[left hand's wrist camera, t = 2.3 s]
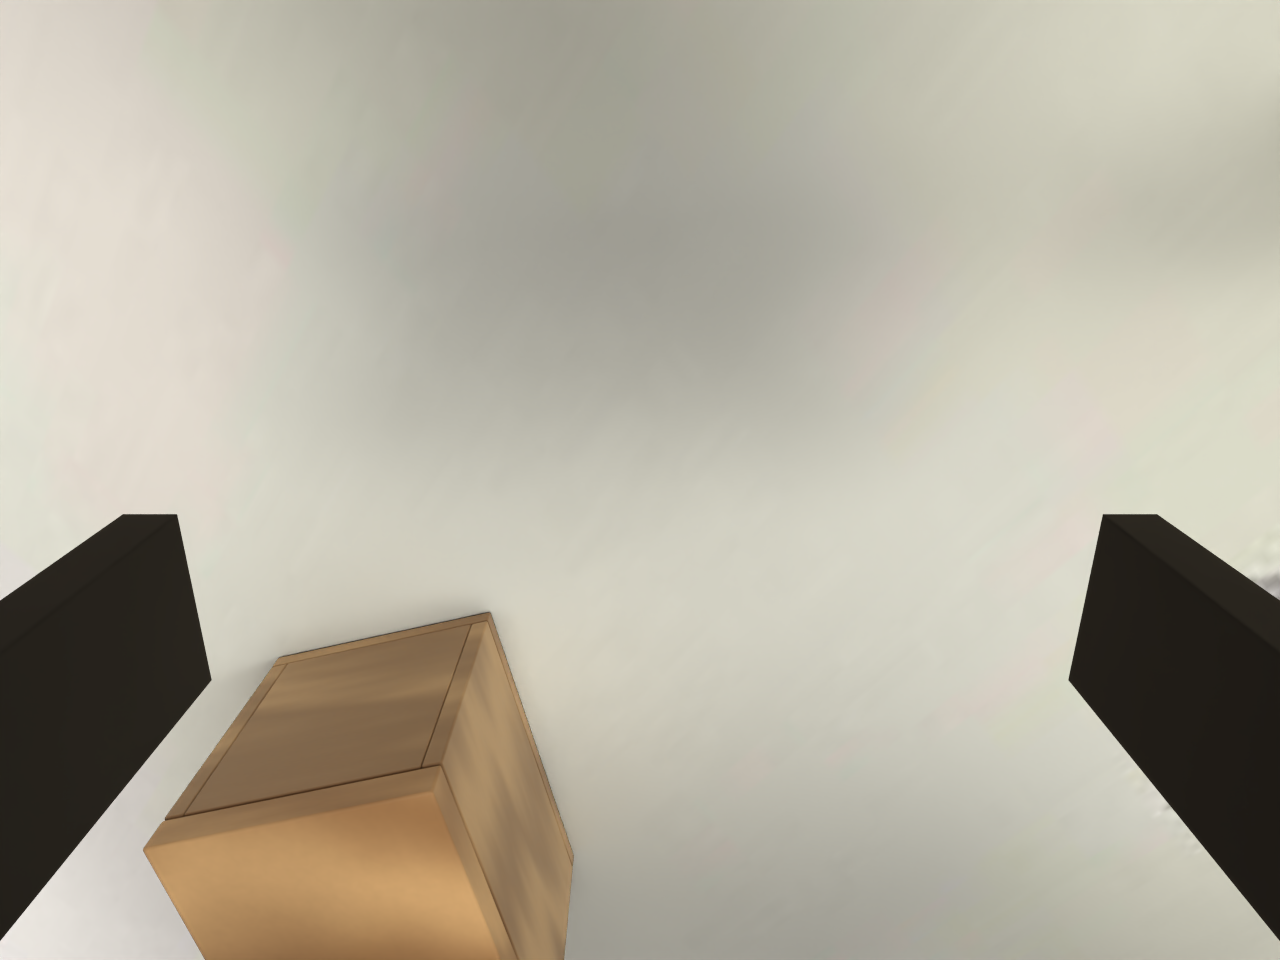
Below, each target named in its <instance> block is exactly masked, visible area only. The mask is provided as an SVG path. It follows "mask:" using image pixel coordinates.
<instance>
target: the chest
mask: <svg viewBox="0 0 1280 960" xmlns="http://www.w3.org/2000/svg"><path fill="white" fill-rule="evenodd" d="M434 766H441V768H442V770H443V773H444V775H445V778H446V780H447V783H448V786H449V788H450V791H451V793H452V796H453V798H454V801H455V803H456V806H457V808H458V811H459V813H460V816H461V818H462V821H463V824H464V826H465V829H466V831H467V834H468V836H469V839H470V841H471V844H472V846H473V849H474V851H475V854H476V857H477V859H478V862H479V864H480V867H481V869H482V872H483V874H484V877H485V879H486V882H487V884H488V887H489V889H490V892H491V895H492V897H493V900H494V902H495V905H496V907H497V910H498V912H499V915H500V917H501V920H502V922H503V925H504V928H505V930H506V933H507V935H508V938H509V940H510V943H511V945H512V948H513V950H514V953H515V955H516V958H517V960H564V954H565V944H566V933H567V922H568V911H569V900H570V889H571V878H572V866H573V858H574V856H573V853H572V850H571V847H570V844H569V841H568V838H567V835H566V832H565V829H564V826H563V823H562V821H561V818H560V815H559V812H558V809H557V806H556V803H555V800H554V797H553V794H552V791H551V788H550V786H549V783H548V780H547V777H546V774H545V771H544V768H543V765H542V762H541V759H540V756H539V753H538V751H537V748H536V745H535V742H534V739H533V736H532V733H531V730H530V727H529V724H528V721H527V718H526V716H525V713H524V710H523V707H522V704H521V701H520V698H519V695H518V692H517V689H516V686H515V683H514V681H513V678H512V675H511V672H510V669H509V666H508V663H507V660H506V657H505V654H504V651H503V648H502V646H501V643H500V640H499V637H498V634H497V631H496V628H495V625H494V622H493V619H492V616H491V614H490V613H485V614H480V615H475V616H471V617H466V618H461V619H457V620H452V621H447V622H443V623H438V624H434V625H429V626H424V627H420V628H415V629H410V630H406V631H401V632H396V633H392V634H387V635H383V636H378V637H373V638H369V639H364V640H359V641H355V642H350V643H345V644H341V645H336V646H332V647H327V648H322V649H318V650H313V651H308V652H304V653H299V654H294V655H290V656H285V657H281V658H278V660H277V661H276V662H275V664H274V665H273V667H272V668H271V670H270V671H269V672H268V674H267V675H266V677H265V678H264V679H263V681H262V682H261V684H260V685H259V687H258V688H257V689H256V691H255V692H254V694H253V695H252V696H251V698H250V699H249V701H248V702H247V703H246V705H245V706H244V708H243V709H242V710H241V712H240V713H239V715H238V716H237V717H236V719H235V720H234V722H233V723H232V724H231V726H230V727H229V729H228V730H227V731H226V733H225V734H224V736H223V737H222V738H221V740H220V741H219V743H218V744H217V745H216V747H215V748H214V750H213V751H212V752H211V754H210V755H209V757H208V758H207V759H206V761H205V762H204V764H203V765H202V766H201V768H200V769H199V771H198V772H197V774H196V775H195V776H194V778H193V779H192V781H191V782H190V783H189V785H188V786H187V788H186V789H185V790H184V792H183V793H182V795H181V796H180V797H179V799H178V800H177V802H176V803H175V804H174V806H173V807H172V809H171V810H170V811H169V813H168V814H167V816H166V817H165V821H166V820H171V819H176V818H181V817H186V816H191V815H196V814H201V813H206V812H211V811H216V810H221V809H226V808H231V807H236V806H241V805H246V804H251V803H256V802H261V801H266V800H271V799H275V798H280V797H285V796H290V795H295V794H300V793H305V792H310V791H315V790H320V789H325V788H330V787H335V786H340V785H345V784H350V783H355V782H360V781H365V780H370V779H375V778H380V777H385V776H390V775H394V774H399V773H404V772H409V771H414V770H419V769H424V768H429V767H434Z"/></svg>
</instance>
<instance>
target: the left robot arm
mask: <svg viewBox="0 0 1280 960" xmlns="http://www.w3.org/2000/svg"><path fill="white" fill-rule="evenodd" d="M210 681H211V675H210V670H209V665H208V661H207V656H206V651H205V646H204V642H203V637H202V632H201V627H200V622H199V618H198V613H197V608H196V603H195V598H194V594H193V589H192V584H191V579H190V574H189V570H188V565H187V560H186V555H185V550H184V546H183V541H182V536H181V531H180V526H179V522H178V517H177V514H123V515H121V516H120V517H119V518H117V519H116V520H114V521H113V522H111V523H110V524H109V525H107V526H106V527H104V528H103V529H101V530H100V531H99V532H97V533H96V534H94V535H93V536H91V537H90V538H89V539H87V540H86V541H84V542H83V543H82V544H80V545H79V546H77V547H76V548H74V549H73V550H72V551H70V552H69V553H67V554H66V555H64V556H63V557H62V558H60V559H59V560H57V561H56V562H54V563H53V564H52V565H50V566H49V567H47V568H46V569H45V570H43V571H42V572H40V573H39V574H37V575H36V576H35V577H33V578H32V579H30V580H29V581H27V582H26V583H25V584H23V585H22V586H20V587H19V588H17V589H16V590H15V591H13V592H12V593H10V594H9V595H8V596H6V597H5V598H3V599H2V600H0V940H1V939H2V938H3V937H4V936H5V934H6V933H7V932H8V931H9V929H10V928H11V927H12V926H13V924H14V923H15V922H16V921H17V919H18V918H19V917H20V916H21V915H22V913H23V912H24V911H25V910H26V908H27V907H28V906H29V905H30V903H31V902H32V901H33V900H34V898H35V897H36V896H37V895H38V894H39V892H40V891H41V890H42V889H43V887H44V886H45V885H46V884H47V882H48V881H49V880H50V879H51V878H52V876H53V875H54V874H55V873H56V871H57V870H58V869H59V868H60V866H61V865H62V864H63V863H64V861H65V860H66V859H67V858H68V857H69V855H70V854H71V853H72V852H73V850H74V849H75V848H76V847H77V845H78V844H79V843H80V842H81V840H82V839H83V838H84V837H85V836H86V834H87V833H88V832H89V831H90V829H91V828H92V827H93V826H94V824H95V823H96V822H97V821H98V819H99V818H100V817H101V816H102V815H103V813H104V812H105V811H106V810H107V808H108V807H109V806H110V805H111V803H112V802H113V801H114V800H115V799H116V797H117V796H118V795H119V794H120V792H121V791H122V790H123V789H124V787H125V786H126V785H127V784H128V782H129V781H130V780H131V779H132V778H133V776H134V775H135V774H136V773H137V771H138V770H139V769H140V768H141V766H142V765H143V764H144V763H145V761H146V760H147V759H148V758H149V757H150V755H151V754H152V753H153V752H154V750H155V749H156V748H157V747H158V745H159V744H160V743H161V742H162V741H163V739H164V738H165V737H166V736H167V734H168V733H169V732H170V731H171V729H172V728H173V727H174V726H175V724H176V723H177V722H178V721H179V720H180V718H181V717H182V716H183V715H184V713H185V712H186V711H187V710H188V708H189V707H190V706H191V705H192V703H193V702H194V701H195V700H196V699H197V697H198V696H199V695H200V694H201V692H202V691H203V690H204V689H205V687H206V686H207V685H208V684H209V682H210ZM1069 681H1070V682H1071V684H1072V685H1073V686H1074V687H1075V689H1076V690H1077V691H1078V692H1079V694H1080V695H1081V696H1082V697H1083V699H1084V700H1085V701H1086V702H1087V703H1088V705H1089V706H1090V707H1091V708H1092V710H1093V711H1094V712H1095V713H1096V715H1097V716H1098V717H1099V718H1100V720H1101V721H1102V722H1103V723H1104V724H1105V726H1106V727H1107V728H1108V729H1109V731H1110V732H1111V733H1112V734H1113V736H1114V737H1115V738H1116V739H1117V741H1118V742H1119V743H1120V744H1121V745H1122V747H1123V748H1124V749H1125V750H1126V752H1127V753H1128V754H1129V755H1130V757H1131V758H1132V759H1133V760H1134V761H1135V763H1136V764H1137V765H1138V766H1139V768H1140V769H1141V770H1142V771H1143V773H1144V774H1145V775H1146V776H1147V778H1148V779H1149V780H1150V781H1151V782H1152V784H1153V785H1154V786H1155V787H1156V789H1157V790H1158V791H1159V792H1160V794H1161V795H1162V796H1163V797H1164V799H1165V800H1166V801H1167V802H1168V803H1169V805H1170V806H1171V807H1172V808H1173V810H1174V811H1175V812H1176V813H1177V815H1178V816H1179V817H1180V818H1181V819H1182V821H1183V822H1184V823H1185V824H1186V826H1187V827H1188V828H1189V829H1190V831H1191V832H1192V833H1193V834H1194V836H1195V837H1196V838H1197V839H1198V840H1199V842H1200V843H1201V844H1202V845H1203V847H1204V848H1205V849H1206V850H1207V852H1208V853H1209V854H1210V855H1211V857H1212V858H1213V859H1214V860H1215V861H1216V863H1217V864H1218V865H1219V866H1220V868H1221V869H1222V870H1223V871H1224V873H1225V874H1226V875H1227V876H1228V878H1229V879H1230V880H1231V881H1232V882H1233V884H1234V885H1235V886H1236V887H1237V889H1238V890H1239V891H1240V892H1241V894H1242V895H1243V896H1244V897H1245V898H1246V900H1247V901H1248V902H1249V903H1250V905H1251V906H1252V907H1253V908H1254V910H1255V911H1256V912H1257V913H1258V915H1259V916H1260V917H1261V918H1262V919H1263V921H1264V922H1265V923H1266V924H1267V926H1268V927H1269V928H1270V929H1271V931H1272V932H1273V933H1274V934H1275V936H1276V937H1277V938H1278V939H1279V940H1280V600H1278V599H1277V598H1275V597H1274V596H1272V595H1271V594H1270V593H1268V592H1267V591H1265V590H1264V589H1263V588H1261V587H1260V586H1258V585H1257V584H1255V583H1254V582H1253V581H1251V580H1250V579H1248V578H1247V577H1245V576H1244V575H1243V574H1241V573H1240V572H1238V571H1237V570H1235V569H1234V568H1233V567H1231V566H1230V565H1228V564H1227V563H1226V562H1224V561H1223V560H1221V559H1220V558H1218V557H1217V556H1216V555H1214V554H1213V553H1211V552H1210V551H1208V550H1207V549H1206V548H1204V547H1203V546H1201V545H1200V544H1198V543H1197V542H1196V541H1194V540H1193V539H1191V538H1190V537H1188V536H1187V535H1186V534H1184V533H1183V532H1181V531H1180V530H1179V529H1177V528H1176V527H1174V526H1173V525H1171V524H1170V523H1169V522H1167V521H1166V520H1164V519H1163V518H1161V517H1160V516H1159V515H1157V514H1103V517H1102V522H1101V526H1100V531H1099V536H1098V541H1097V546H1096V550H1095V555H1094V560H1093V565H1092V570H1091V574H1090V579H1089V584H1088V589H1087V594H1086V598H1085V603H1084V608H1083V613H1082V618H1081V622H1080V627H1079V632H1078V637H1077V641H1076V646H1075V651H1074V656H1073V661H1072V665H1071V670H1070V675H1069Z"/></svg>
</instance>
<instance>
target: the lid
mask: <svg viewBox="0 0 1280 960" xmlns="http://www.w3.org/2000/svg"><path fill="white" fill-rule="evenodd" d="M143 851H144V853H145V855H146V857H147V858H148V860H149V862H150V864H151V865H152V867H153V869H154V871H155V872H156V874H157V876H158V878H159V879H160V881H161V883H162V885H163V887H164V888H165V890H166V892H167V894H168V895H169V897H170V899H171V901H172V902H173V904H174V906H175V908H176V909H177V911H178V913H179V915H180V916H181V918H182V920H183V922H184V923H185V925H186V927H187V929H188V930H189V932H190V934H191V936H192V938H193V939H194V941H195V943H196V945H197V946H198V948H199V950H200V952H201V953H202V955H203V957H204V959H205V960H517V958H516V955H515V953H514V950H513V948H512V945H511V943H510V940H509V938H508V935H507V933H506V930H505V928H504V925H503V922H502V920H501V917H500V915H499V912H498V910H497V907H496V905H495V902H494V900H493V897H492V895H491V892H490V889H489V887H488V884H487V882H486V879H485V877H484V874H483V872H482V869H481V867H480V864H479V862H478V859H477V857H476V854H475V851H474V849H473V846H472V844H471V841H470V839H469V836H468V834H467V831H466V829H465V826H464V824H463V821H462V818H461V816H460V813H459V811H458V808H457V806H456V803H455V801H454V798H453V796H452V793H451V791H450V788H449V786H448V783H447V780H446V778H445V775H444V773H443V770H442V768H441V766H434V767H429V768H424V769H419V770H414V771H409V772H404V773H399V774H394V775H390V776H385V777H380V778H375V779H370V780H365V781H360V782H355V783H350V784H345V785H340V786H335V787H330V788H325V789H320V790H315V791H310V792H305V793H300V794H295V795H290V796H285V797H280V798H275V799H271V800H266V801H261V802H256V803H251V804H246V805H241V806H236V807H231V808H226V809H221V810H216V811H211V812H206V813H201V814H196V815H191V816H186V817H181V818H176V819H171V820H166V821H163V822H162V823H161V824H160V826H159V827H158V828H157V830H156V831H155V833H154V834H153V836H152V837H151V838H150V840H149V841H148V843H147V844H146V845H145V847H144V849H143Z"/></svg>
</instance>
